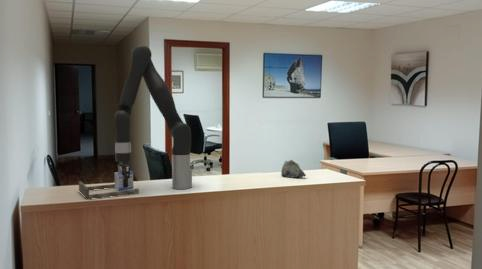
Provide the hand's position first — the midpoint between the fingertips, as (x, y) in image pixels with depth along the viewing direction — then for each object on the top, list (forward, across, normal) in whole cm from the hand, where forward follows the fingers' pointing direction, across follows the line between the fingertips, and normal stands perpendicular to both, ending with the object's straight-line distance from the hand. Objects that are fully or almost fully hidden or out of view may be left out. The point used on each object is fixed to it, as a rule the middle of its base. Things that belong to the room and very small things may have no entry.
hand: (124, 185), depth 217 cm
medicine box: (+2, 0, 0) cm, 2 cm away
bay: (+3, +2, +7) cm, 8 cm away
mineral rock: (+4, -12, -93) cm, 94 cm away
